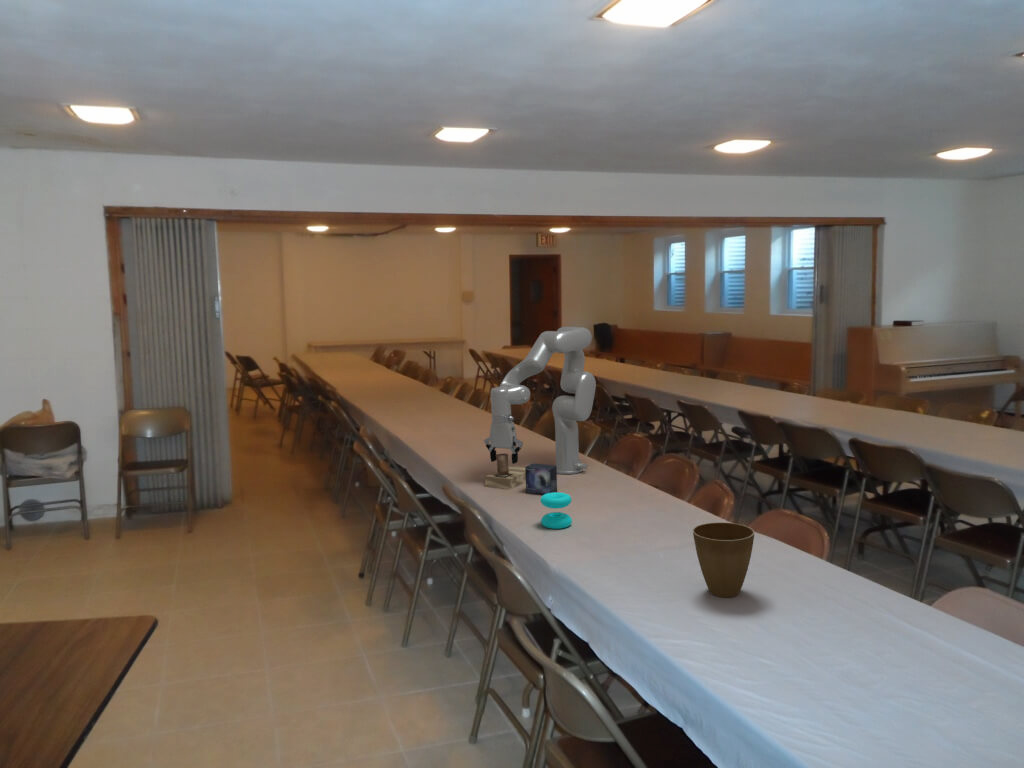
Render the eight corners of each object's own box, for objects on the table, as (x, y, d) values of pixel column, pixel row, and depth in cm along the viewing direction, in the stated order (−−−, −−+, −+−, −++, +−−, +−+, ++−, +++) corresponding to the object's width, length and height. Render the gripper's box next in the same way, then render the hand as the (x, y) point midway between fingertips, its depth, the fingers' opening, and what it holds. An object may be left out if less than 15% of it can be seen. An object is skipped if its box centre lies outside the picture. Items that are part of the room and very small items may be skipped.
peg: (511, 483, 316) (510, 453, 314) (505, 486, 312) (504, 456, 311) (501, 482, 318) (500, 453, 317) (495, 485, 314) (494, 455, 313)
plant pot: (742, 579, 210) (743, 520, 208) (762, 602, 196) (763, 538, 193) (686, 582, 210) (686, 522, 208) (701, 604, 195) (701, 541, 193)
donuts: (565, 490, 267) (575, 497, 257) (565, 519, 268) (576, 527, 259) (536, 493, 264) (545, 500, 255) (537, 522, 265) (546, 531, 256)
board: (511, 475, 331) (511, 465, 331) (535, 477, 325) (534, 468, 325) (485, 486, 314) (485, 476, 314) (509, 489, 308) (509, 479, 308)
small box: (525, 493, 302) (524, 466, 301) (532, 489, 308) (531, 462, 306) (550, 496, 297) (549, 468, 296) (557, 492, 303) (557, 465, 301)
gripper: (525, 418, 311) (528, 461, 313) (488, 416, 320) (490, 458, 322) (515, 422, 304) (518, 466, 307) (477, 419, 313) (480, 462, 316)
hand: (504, 462), depth 314 cm, fingers open, 9 cm apart
